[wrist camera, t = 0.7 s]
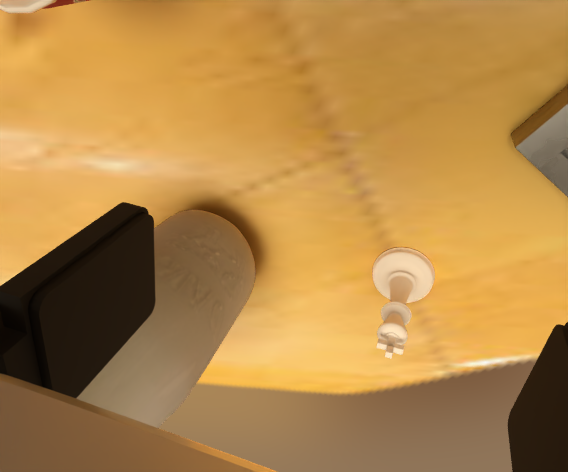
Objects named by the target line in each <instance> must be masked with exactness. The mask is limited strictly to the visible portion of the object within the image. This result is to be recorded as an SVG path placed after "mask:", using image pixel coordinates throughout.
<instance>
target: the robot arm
mask: <svg viewBox="0 0 568 472" xmlns="http://www.w3.org/2000/svg"><path fill="white" fill-rule="evenodd" d="M155 301H156V298H155V256H154V220H153V217H152V216H151V215H149V214H148V211H147V209H146V208H144V207H140V206H137V205H133V204H129V203H124V202H123V203H120V204H119V205H117V206H116V207H114V208H113V209H112V210H110V211H109V212H107V213H106V214H104V215H103V216H101V217H100V218H98V219H97V220H96V221H94V222H93V223H91V224H90V225H88V226H87V227H85V228H84V229H83V230H81V231H80V232H78V233H77V234H75V235H74V236H72V237H71V238H69V239H68V240H67V241H65V242H64V243H62V244H61V245H59V246H58V247H56V248H55V249H53V250H52V251H51V252H49V253H48V254H46V255H45V256H43V257H42V258H40V259H39V260H38V261H36V262H35V263H33V264H32V265H30V266H29V267H27V268H26V269H24V270H23V271H22V272H20V273H19V274H17V275H16V276H14V277H13V278H11V279H10V280H9V281H7V282H6V283H4V284H3V285H1V286H0V472H277V471H274V470H272V469H269V468H266V467H263V466H261V465H258V464H255V463H253V462H250V461H247V460H244V459H242V458H239V457H236V456H233V455H231V454H228V453H225V452H222V451H220V450H217V449H214V448H211V447H209V446H206V445H203V444H200V443H198V442H195V441H192V440H189V439H187V438H184V437H181V436H179V435H176V434H173V433H170V432H167V431H165V430H162V429H159V428H156V427H154V426H151V425H148V424H145V423H142V422H140V421H137V420H134V419H131V418H128V417H126V416H123V415H120V414H117V413H115V412H112V411H109V410H106V409H103V408H101V407H98V406H95V405H92V404H89V403H87V402H84V401H81V400H78V399H76V398H77V397H78V396H79V395H80V394H81V393H82V392H83V391H84V389H85V388H86V387H87V386H88V385H89V384H90V383H91V382H92V380H93V379H94V378H95V377H96V376H97V375H98V374H99V373H100V371H101V370H102V369H103V368H104V367H105V366H106V365H107V364H108V362H109V361H110V360H111V359H112V358H113V357H114V356H115V355H116V354H117V352H118V351H119V350H120V349H121V348H122V347H123V346H124V345H125V343H126V342H127V341H128V340H129V339H130V338H131V337H132V336H133V334H134V333H135V332H136V331H137V330H138V329H139V328H140V327H141V325H142V324H143V323H144V322H145V321H146V320H147V319H148V318H149V316H150V315H151V314H152V312H153V310H154V307H155ZM508 434H509V443H510V452H511V461H512V470H513V472H568V322H567V323H566V324H565V326H563V325H560V324H558V325H556V326H555V327H554V329H553V331H552V333H551V334H550V336H549V338H548V340H547V342H546V344H545V346H544V348H543V350H542V352H541V354H540V356H539V358H538V359H537V361H536V363H535V365H534V367H533V369H532V371H531V373H530V375H529V377H528V379H527V381H526V383H525V384H524V386H523V388H522V390H521V392H520V394H519V396H518V398H517V400H516V402H515V404H514V406H513V408H512V409H511V412H510V415H509V419H508Z"/></svg>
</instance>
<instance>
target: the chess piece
mask: <svg viewBox="0 0 568 472" xmlns="http://www.w3.org/2000/svg"><path fill="white" fill-rule="evenodd" d="M372 272H373V274H372V276H373V282H374V284H375V286H376V288H377V290H378V291H379V292H380V293H381V294H382V295H383V296H385V297H386V298H388V299H390V302H389V303H387V304H385V305H384V306H383V307H382V309H381V316H382V319H383V321H384V322H383V323H382V324H381V325H380V327H379V328H378V331H377V335H378V338H379V339H378V343H377V347H376V348H380V349H383V350H386V352H385V357H387V358H392V355H393V353H397V354H400V355H402V354H403V350H404V346H403V344H405V342H406V341H407V338H408V334H407V330H406V328H405V325H407V324H408V322H409V321H410V319H411V311H410V309H409V308H408V307H407V306H406V303H410V302H415V301H418V300H420V299H422V298H423V297H425V296H426V295H427V294H428V293H429V292H430V290H431V288H432V286H433V283H434V279H435V271H434V268H433V265H432V263H431V262H430V261H429V259H428V258H427V257H426V256H425V255H423V254H422V253H420V252H418V251H416V250H414V249H410V248H404V247H398V248H392V249H389V250H387V251H385V252H383V253H382V254H381V255H380V256H379V257H378V258H377V259H376V261H375V262H374V265H373V271H372Z"/></svg>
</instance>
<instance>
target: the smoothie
mask: <svg viewBox="0 0 568 472" xmlns="http://www.w3.org/2000/svg"><path fill="white" fill-rule="evenodd" d="M84 1H89V0H0V10H2V11H5V12H7V13H33V12H36V11H38V10H40V9H45V8H52V7H57V6H63V5H68V4H73V3H78V2H84Z"/></svg>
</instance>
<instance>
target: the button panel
mask: <svg viewBox="0 0 568 472" xmlns="http://www.w3.org/2000/svg"><path fill="white" fill-rule="evenodd" d="M511 136H512V139H513V142H514V145H515V148H516V149H517V150H518V151H519V152H520V153H521V154H522V155H524V156H525V157H526V158H527V159H528V160H529V161H530V162H531V163H532V164H533V165H534V166H535V167H536V168H537V169H538V170H540V171H541V172H542V173H543V174H544V175H545V176H546V177H547V178H548V179H549V180H550V181H551V182H552V183H553V184H554V185H556V186H557V187H558V188H559V189H560V190H561V191H562V192H563V193H564V194H565V195H566V196H567V197H568V85H567V86H566V87H565V88H564V89H563V90H561V91H560V92H559V93H558V94H557V95H556V96H554V97H553V98H552V99H551V100H550V101H549V102H547V103H546V104H545V105H544V106H543V107H542V108H540V109H539V110H538V111H537V112H536V113H535V114H534V115H532V116H531V117H530V118H529V119H528V120H527V121H525V122H524V123H523V124H522V125H521V126H520V127H518V128H517V129H516V130H515V131H514V132H513V133H511Z"/></svg>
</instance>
